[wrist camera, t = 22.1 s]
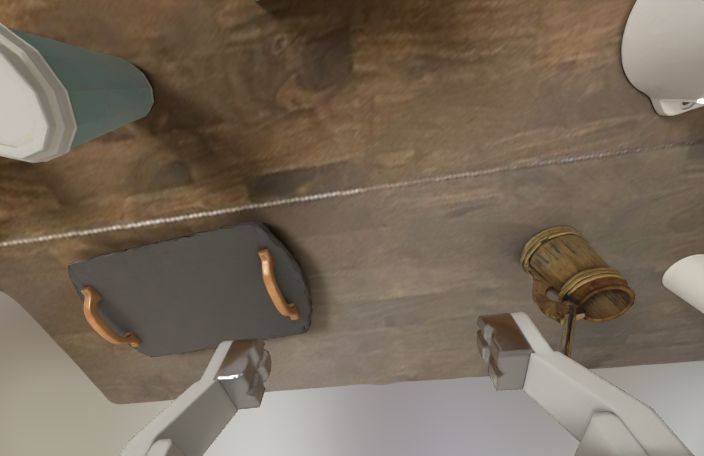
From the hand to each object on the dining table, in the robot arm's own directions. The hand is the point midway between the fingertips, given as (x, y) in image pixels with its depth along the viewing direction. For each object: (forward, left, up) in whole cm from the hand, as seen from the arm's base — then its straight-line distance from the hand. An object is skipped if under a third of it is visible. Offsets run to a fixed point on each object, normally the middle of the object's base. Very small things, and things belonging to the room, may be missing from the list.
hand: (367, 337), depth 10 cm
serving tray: (+31, +19, -29) cm, 47 cm away
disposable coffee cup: (+27, -12, -29) cm, 42 cm away
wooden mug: (-24, +20, -29) cm, 43 cm away
